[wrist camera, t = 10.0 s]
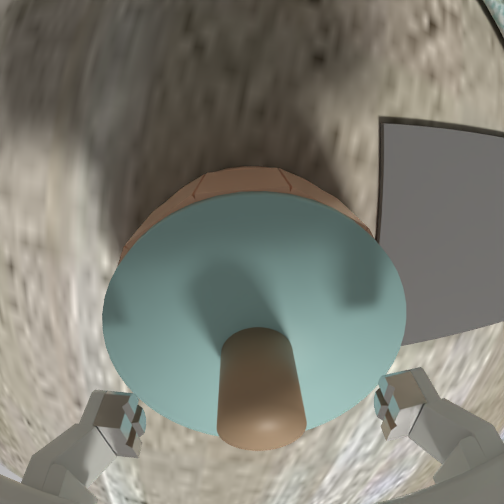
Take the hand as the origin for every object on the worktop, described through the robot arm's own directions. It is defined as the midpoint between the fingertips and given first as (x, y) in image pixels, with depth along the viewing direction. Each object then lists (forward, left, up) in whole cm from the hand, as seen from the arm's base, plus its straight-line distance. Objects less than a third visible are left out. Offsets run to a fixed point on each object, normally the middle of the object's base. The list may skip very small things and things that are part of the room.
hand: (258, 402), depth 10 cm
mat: (-1, +14, -8) cm, 16 cm away
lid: (0, 0, -4) cm, 4 cm away
